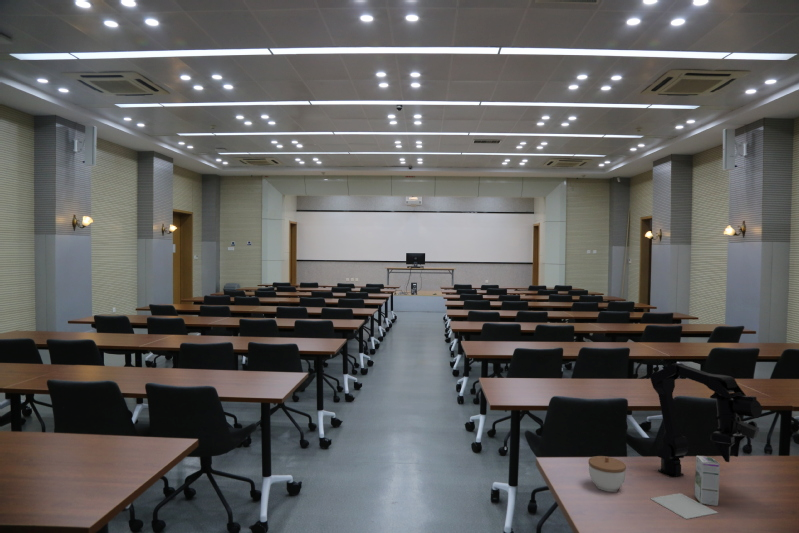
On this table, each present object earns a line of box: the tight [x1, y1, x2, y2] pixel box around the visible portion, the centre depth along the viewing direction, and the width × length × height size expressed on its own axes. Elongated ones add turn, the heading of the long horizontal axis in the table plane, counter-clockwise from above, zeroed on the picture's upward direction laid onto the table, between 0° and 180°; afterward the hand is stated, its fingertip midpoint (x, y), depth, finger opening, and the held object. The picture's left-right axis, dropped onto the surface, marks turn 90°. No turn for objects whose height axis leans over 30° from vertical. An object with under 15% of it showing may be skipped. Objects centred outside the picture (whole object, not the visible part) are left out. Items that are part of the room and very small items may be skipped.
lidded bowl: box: [588, 455, 627, 493], centre depth 179 cm, size 13×13×11 cm
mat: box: [649, 492, 719, 520], centre depth 165 cm, size 14×14×1 cm
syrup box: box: [693, 455, 721, 507], centre depth 169 cm, size 6×6×14 cm
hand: (731, 459), depth 170 cm, fingers open, 9 cm apart
